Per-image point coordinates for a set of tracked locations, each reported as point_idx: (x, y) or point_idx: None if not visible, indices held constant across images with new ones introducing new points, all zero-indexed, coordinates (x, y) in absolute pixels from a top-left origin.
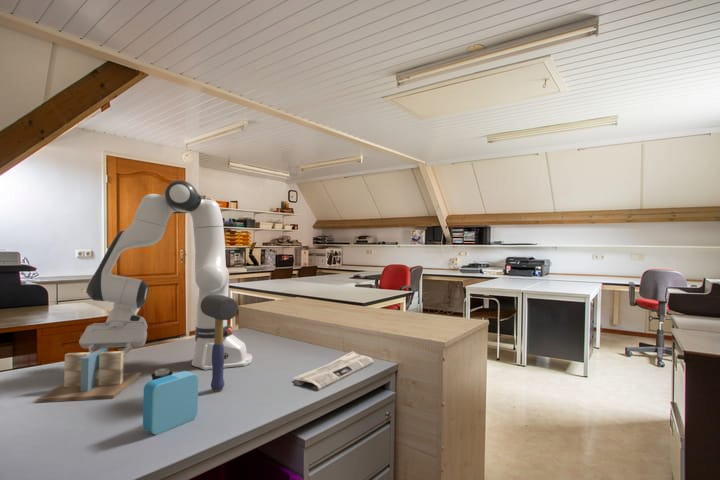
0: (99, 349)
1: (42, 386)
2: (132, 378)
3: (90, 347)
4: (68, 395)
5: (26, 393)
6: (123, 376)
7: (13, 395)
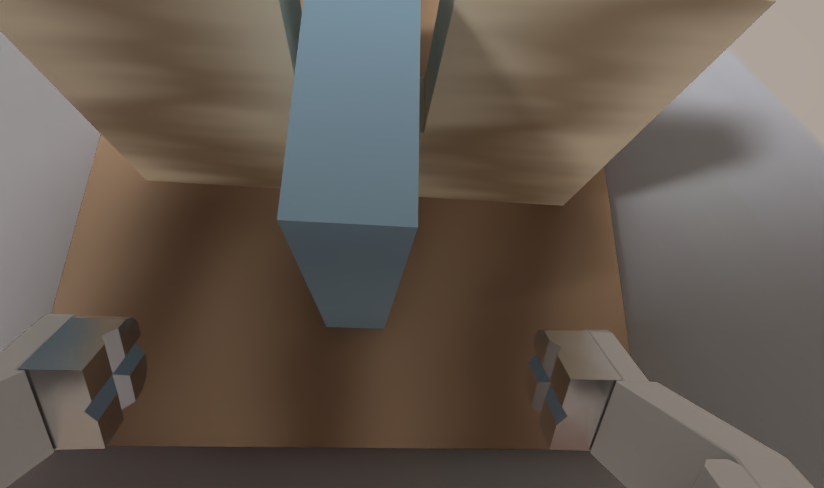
0: (396, 107)
1: (752, 282)
2: (78, 257)
3: (739, 457)
4: (433, 7)
5: (745, 165)
6: (179, 333)
7: (792, 148)
